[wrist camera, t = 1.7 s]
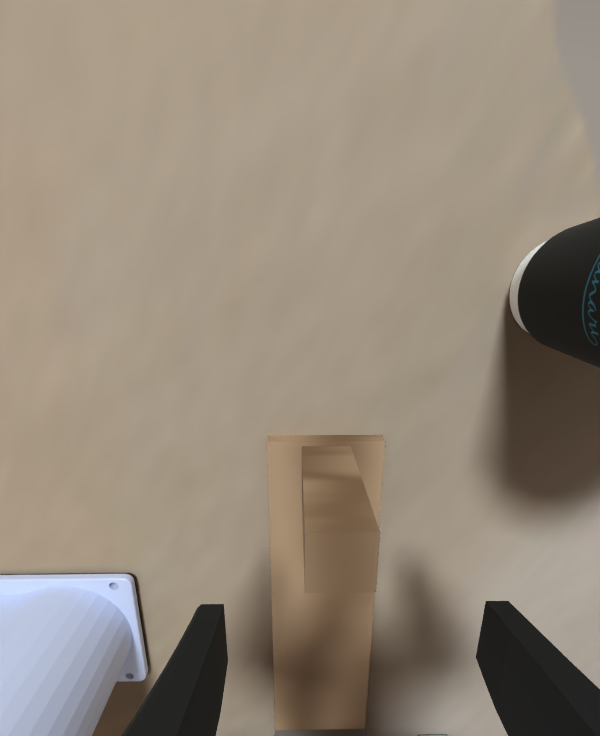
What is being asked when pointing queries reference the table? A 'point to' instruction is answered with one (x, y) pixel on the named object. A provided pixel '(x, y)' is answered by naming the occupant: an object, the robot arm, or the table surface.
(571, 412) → the table surface
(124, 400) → the table surface
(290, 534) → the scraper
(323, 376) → the table surface
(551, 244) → the dixie cup
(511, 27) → the table surface
